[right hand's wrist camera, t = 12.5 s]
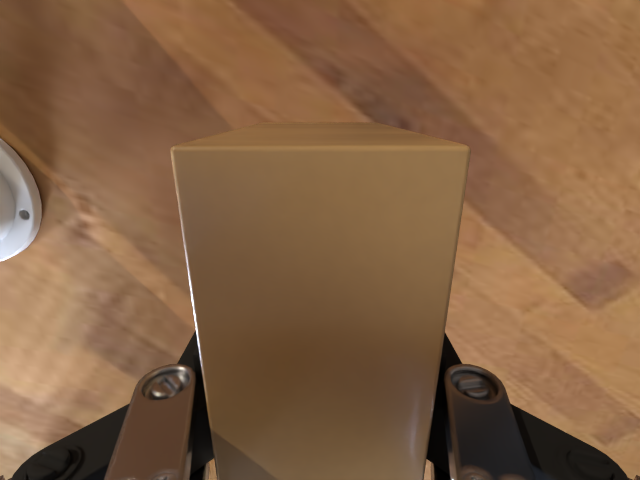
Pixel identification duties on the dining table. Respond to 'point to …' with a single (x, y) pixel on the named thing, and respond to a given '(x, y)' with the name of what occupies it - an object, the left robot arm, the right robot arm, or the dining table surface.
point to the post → (320, 293)
